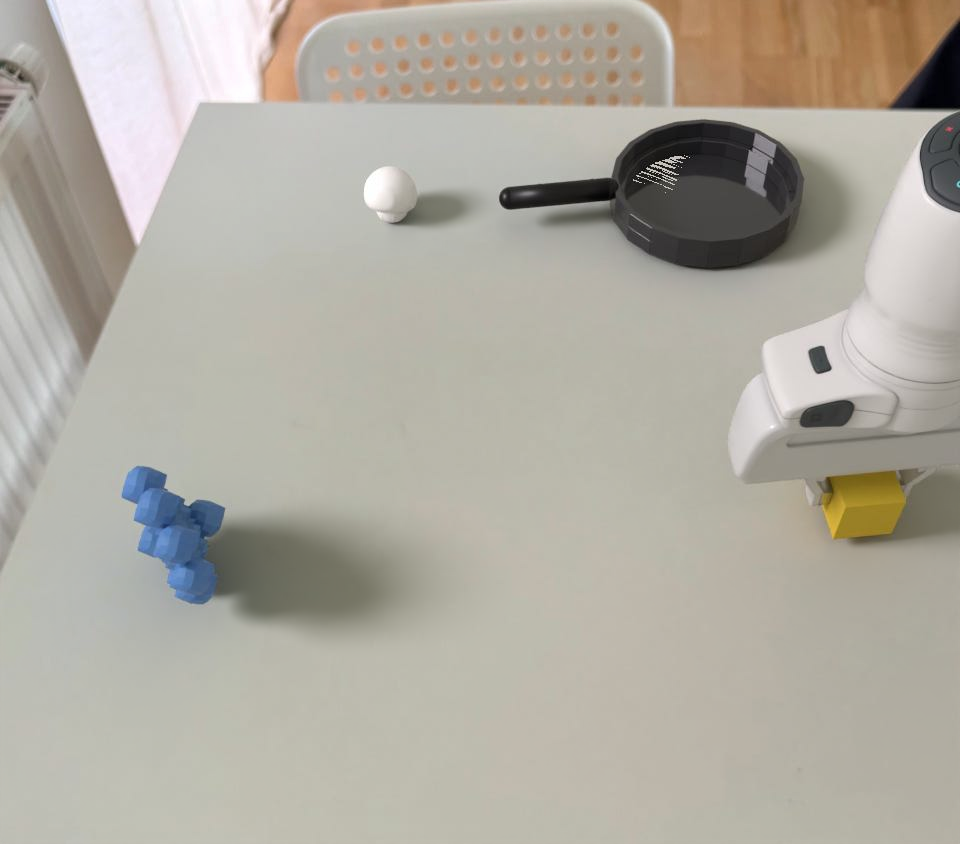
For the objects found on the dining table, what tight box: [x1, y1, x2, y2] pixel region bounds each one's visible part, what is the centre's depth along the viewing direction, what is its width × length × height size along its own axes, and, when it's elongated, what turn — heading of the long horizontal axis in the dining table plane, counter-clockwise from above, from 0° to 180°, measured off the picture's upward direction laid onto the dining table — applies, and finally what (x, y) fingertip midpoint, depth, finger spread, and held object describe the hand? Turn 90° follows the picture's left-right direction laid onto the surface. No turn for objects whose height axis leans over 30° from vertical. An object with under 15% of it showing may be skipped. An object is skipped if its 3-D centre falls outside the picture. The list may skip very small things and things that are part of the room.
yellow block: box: [821, 471, 907, 540], centre depth 81 cm, size 4×6×4 cm
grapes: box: [121, 465, 226, 605], centre depth 78 cm, size 12×7×12 cm, turn 31°
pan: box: [609, 118, 805, 269], centre depth 102 cm, size 17×17×4 cm
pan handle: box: [498, 177, 619, 211], centre depth 101 cm, size 11×2×2 cm, turn 95°
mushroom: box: [363, 165, 418, 224], centre depth 103 cm, size 5×5×5 cm
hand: (854, 494), depth 82 cm, fingers closed on yellow block, 4 cm apart
